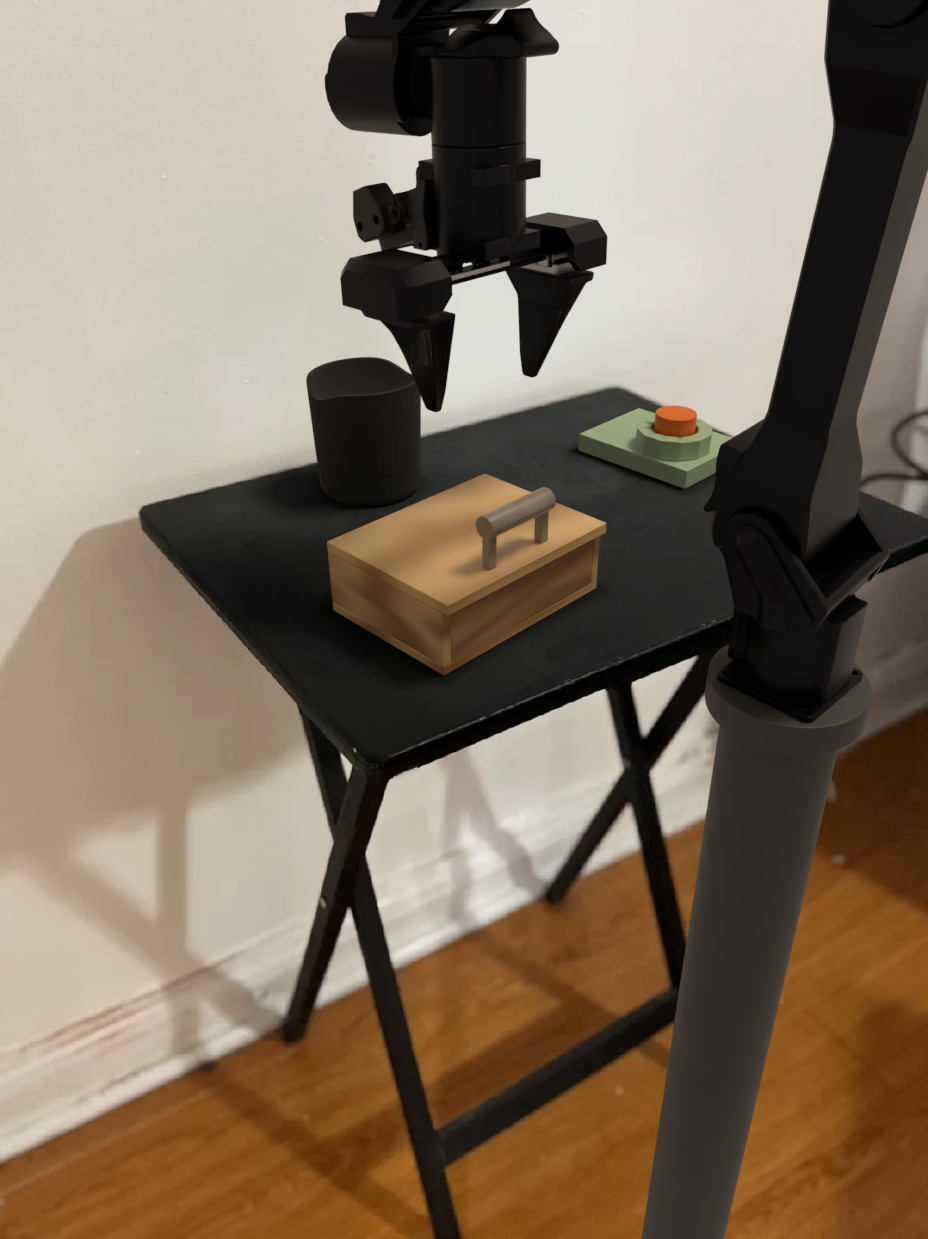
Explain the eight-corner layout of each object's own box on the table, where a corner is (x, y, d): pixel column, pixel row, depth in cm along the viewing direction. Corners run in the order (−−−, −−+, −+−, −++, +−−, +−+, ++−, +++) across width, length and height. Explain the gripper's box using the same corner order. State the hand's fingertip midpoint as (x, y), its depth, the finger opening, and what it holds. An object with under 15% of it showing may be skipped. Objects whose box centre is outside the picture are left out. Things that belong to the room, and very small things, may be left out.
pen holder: (429, 465, 95) (426, 357, 89) (418, 511, 87) (414, 396, 82) (327, 463, 95) (317, 356, 90) (307, 509, 88) (295, 395, 82)
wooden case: (596, 588, 76) (600, 531, 74) (443, 676, 67) (442, 614, 64) (485, 537, 83) (485, 483, 80) (332, 610, 74) (327, 552, 71)
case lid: (606, 532, 73) (610, 472, 71) (447, 616, 64) (446, 550, 62) (485, 482, 80) (485, 426, 78) (327, 551, 71) (321, 490, 69)
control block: (742, 458, 95) (748, 422, 93) (685, 489, 90) (689, 451, 88) (637, 424, 103) (640, 390, 101) (578, 450, 97) (579, 415, 95)
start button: (703, 431, 93) (705, 412, 92) (679, 442, 91) (681, 423, 90) (669, 420, 95) (671, 402, 94) (645, 431, 93) (647, 412, 92)
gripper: (492, 118, 73) (495, 338, 81) (272, 149, 62) (301, 401, 70) (617, 129, 66) (606, 369, 74) (394, 167, 55) (410, 443, 64)
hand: (483, 392), depth 71 cm, fingers open, 9 cm apart
